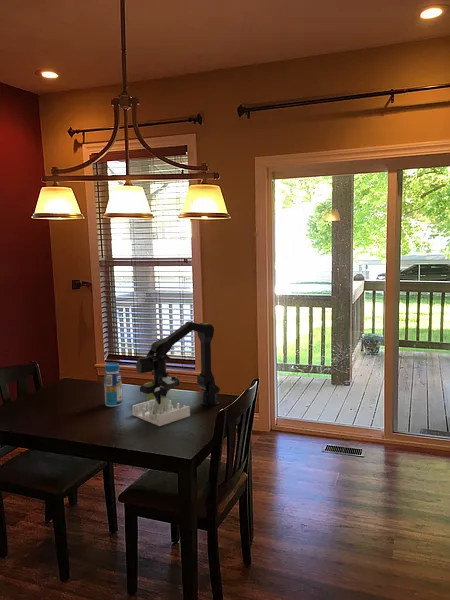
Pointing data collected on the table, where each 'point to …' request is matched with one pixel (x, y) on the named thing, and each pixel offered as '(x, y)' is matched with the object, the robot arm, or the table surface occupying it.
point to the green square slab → (162, 403)
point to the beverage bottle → (112, 385)
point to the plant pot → (150, 396)
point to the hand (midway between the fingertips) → (161, 403)
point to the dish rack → (160, 413)
